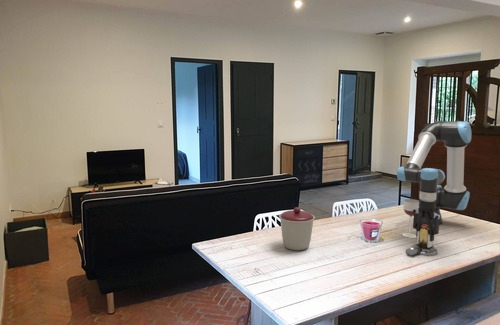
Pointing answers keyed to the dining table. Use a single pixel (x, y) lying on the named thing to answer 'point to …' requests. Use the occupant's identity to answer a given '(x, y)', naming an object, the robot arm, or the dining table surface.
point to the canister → (296, 228)
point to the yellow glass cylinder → (424, 235)
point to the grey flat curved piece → (421, 250)
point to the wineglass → (410, 213)
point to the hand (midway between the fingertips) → (424, 244)
